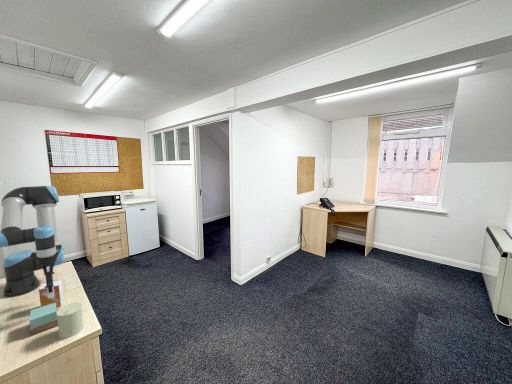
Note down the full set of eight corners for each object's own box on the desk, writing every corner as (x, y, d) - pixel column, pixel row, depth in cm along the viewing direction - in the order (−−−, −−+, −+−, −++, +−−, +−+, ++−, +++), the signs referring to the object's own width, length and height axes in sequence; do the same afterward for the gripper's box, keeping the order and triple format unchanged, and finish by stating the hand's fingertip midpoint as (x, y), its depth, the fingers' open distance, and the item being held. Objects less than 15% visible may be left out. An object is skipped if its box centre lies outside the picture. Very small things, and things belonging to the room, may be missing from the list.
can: (54, 340, 95) (51, 317, 93) (63, 326, 103) (61, 304, 102) (80, 334, 99) (77, 311, 97) (86, 321, 107) (84, 299, 105)
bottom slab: (31, 325, 104) (30, 317, 103) (58, 315, 111) (58, 308, 110) (30, 337, 97) (29, 329, 96) (59, 326, 104) (59, 318, 103)
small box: (41, 311, 112) (38, 289, 110) (44, 304, 117) (41, 283, 116) (61, 306, 117) (58, 285, 115) (63, 300, 122) (61, 279, 120)
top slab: (31, 317, 103) (30, 310, 103) (56, 309, 110) (55, 302, 109) (30, 328, 97) (29, 320, 96) (57, 318, 103) (56, 311, 103)
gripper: (37, 250, 119) (41, 284, 122) (36, 265, 101) (41, 305, 104) (55, 246, 124) (59, 279, 127) (57, 260, 107) (61, 299, 109)
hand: (51, 291), depth 115 cm, fingers open, 13 cm apart
